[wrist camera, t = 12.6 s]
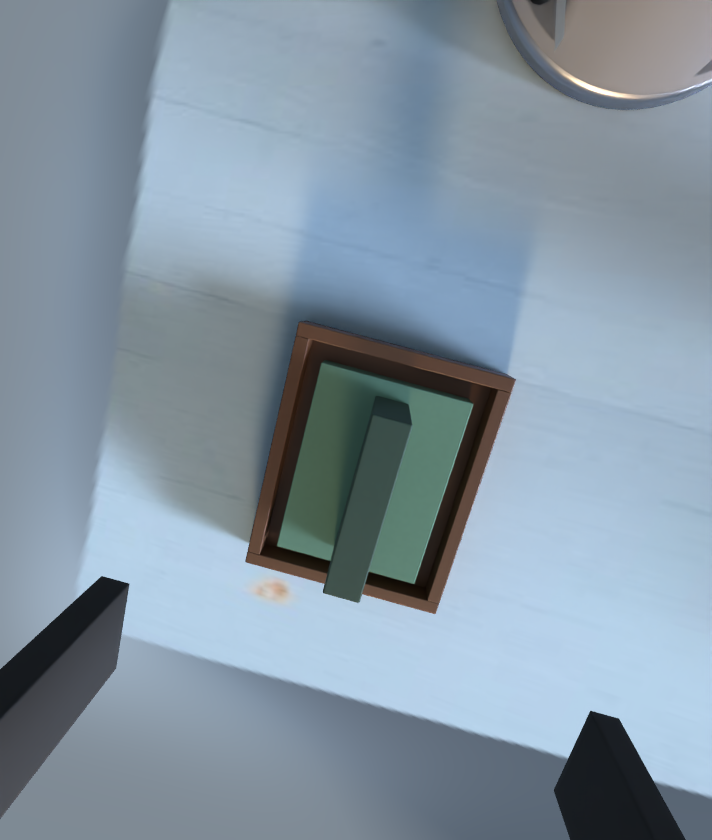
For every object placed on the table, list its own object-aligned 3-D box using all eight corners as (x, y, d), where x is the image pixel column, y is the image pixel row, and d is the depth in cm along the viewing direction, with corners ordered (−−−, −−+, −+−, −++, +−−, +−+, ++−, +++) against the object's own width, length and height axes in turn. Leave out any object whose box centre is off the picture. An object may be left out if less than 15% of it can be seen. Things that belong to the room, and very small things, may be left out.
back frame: (305, 320, 29) (298, 321, 27) (507, 374, 29) (516, 379, 27) (254, 546, 33) (244, 562, 30) (432, 595, 32) (435, 614, 30)
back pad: (325, 359, 29) (305, 373, 22) (469, 398, 29) (491, 424, 22) (281, 535, 32) (254, 591, 25) (413, 571, 31) (418, 637, 25)
